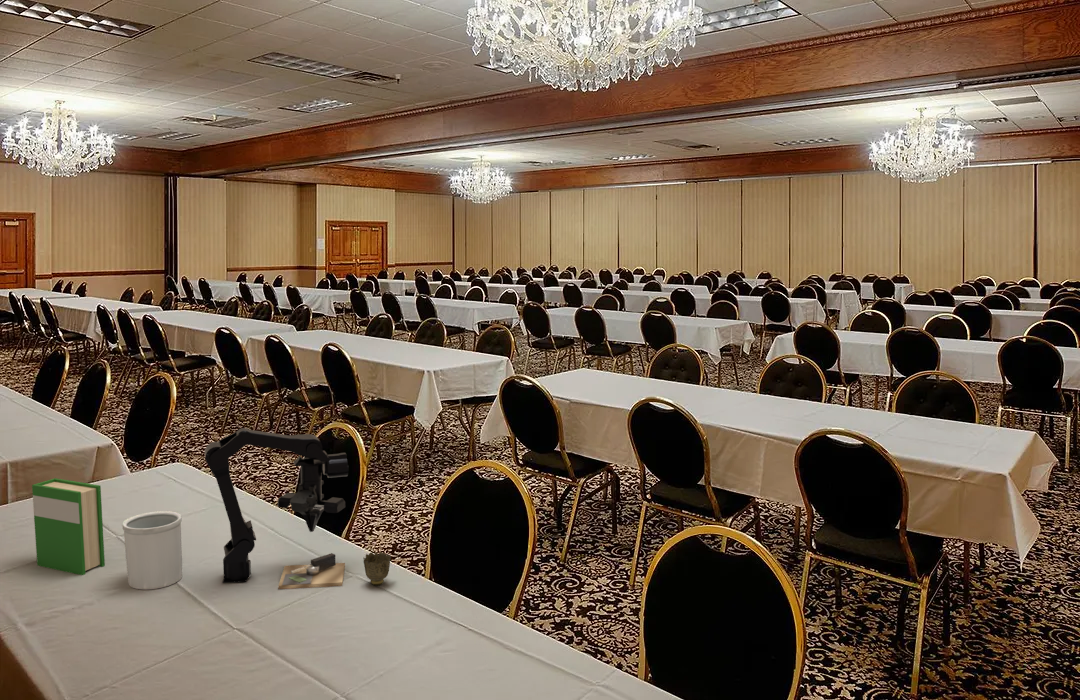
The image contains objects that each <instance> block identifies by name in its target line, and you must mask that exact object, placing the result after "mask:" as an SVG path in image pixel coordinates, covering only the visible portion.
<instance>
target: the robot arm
mask: <svg viewBox="0 0 1080 700" xmlns="http://www.w3.org/2000/svg"><path fill="white" fill-rule="evenodd" d="M247 445H248V446H254V447H262V448H268V449H276V450H282V451H288V452H291V453H293V454H295V455H298V456H297V458H296V459H294V461H293V464H294V466H295V467H300V483H299V484H298V487H297V489H298V490H297V492H296V493H293V492H286V493H285V494H283V495H280V496H279V497H278V499H277V508H282V509H287V508H289V507H291V511H292V512H296V513H297V512H298V513H299V514H301V515H302V517H303V519H304V520H305V523H306V525H307V528H308V531H309V532H310V533H313V532H315V529H316V527H317V524H318V523H319V519H320V517H321V515H322V513H323V512H324V511H325V513H329V514H337V513H340V512H341V511H342V510H344V509H345V508H346V501H345V500H344V498H343V497H334V496H333V497H331V498H329V499H327V500H325V499H324V498H325V494H324V493H322V491H323V490H322V486H323V485H324V484H325V482H324V480H322V474H323V475H324V476H325V475H326V476H327V478H328V479H329V478H331V479H332V478H341V477H348V476H349V471H350V467H349V463H348V459H347V458H348V457H347V453H346V452H340V453H333V454H328V453H327V452H326V450H323V444H322V442H321V440H320V439H319V437H318V436H316V435H315V434H311V433H310V434H309V433H308V434H304V433H303V434H294V435H293V434H292V435H287V434H279V433H274V432H273V433H272V432H267V431H261V430H254V429H249V428H246V427H241V428H239V429H238V430H237V431H235V432H233V433H231V434H229V435H227V436H225V437H223V438H222V439H220V440H218V441H212V442H210V443H209V444H208V445H206V447H205V449H204V456H205V457H204V459H205V462H206V464H207V466H208V468H209V470H210V472H211V473H212V474H213V477H214V478H215V480H216V482H217V486H218V488H219V492H220V495H221V498H222V499H221V500H222V502H223V505H224V508H225V509H224V510H225V511H226V514H227V518H228V522H229V529H230V540H229V541H227V543H226V544H225V545H224V546H223V551H224V558H223V559H222V561H223V562H222V563H223V565H222V566H223V567H222V568H223V578H222V581H221V583H223V584H228V583H247V582H248V579H249V578H250V577H251V574H252V565H251V564H252V563H251V562H252V561H251V559H249V554H250V553H251V552H252V551H253V550H254V548H255V545H256V544H255V543H256V542H255V541H257V536H256V533H255V531H254V529H253V527H254V526H253V523H252V520H248V521H246V520H245V518H244V516H243V513H242V511H241V507H240V505H239V501H238V497H237V494H236V491H235V487H234V484H233V482H232V478H231V474H230V473H231V472H230V463H229V458H231V457H232V456H234V455H235V454H237V453H238V452H239V451H240V450H242V448H244V447H245V446H247Z"/></svg>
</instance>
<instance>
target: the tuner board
mask: <svg viewBox="0 0 1080 700" xmlns="http://www.w3.org/2000/svg"><path fill="white" fill-rule="evenodd" d="M307 565H308V564H294V565H290V564H289V565H284V567H283V571H282V573H281V577H280V580H279V583H278V585H277V586H278V590H287V589H289V590H290V589H291V590H292V589H307V588H311V589H312V588H326V587H329V588H330V587H343V582H344V576H345V570H346V569H345V568H346V562H336V565H335V566H332V567H329V568H326V569H323V570H320V571H319V573H318V574H314V575H309V574H307V573H306V569H304V570H301V571H298V572H295V573H291V571H292V570H295V569H298V568H301V567H304V566H307Z"/></svg>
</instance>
